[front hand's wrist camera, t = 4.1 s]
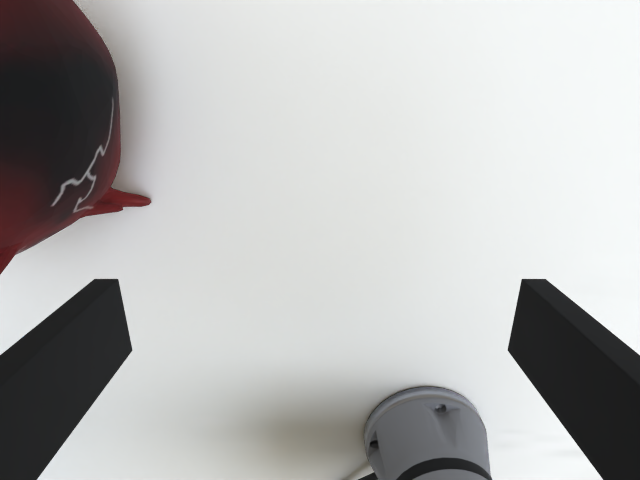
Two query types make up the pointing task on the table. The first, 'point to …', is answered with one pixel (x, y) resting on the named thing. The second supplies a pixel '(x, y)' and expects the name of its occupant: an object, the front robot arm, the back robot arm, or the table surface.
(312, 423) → the table surface
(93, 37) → the dark red rounded piece
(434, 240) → the table surface
